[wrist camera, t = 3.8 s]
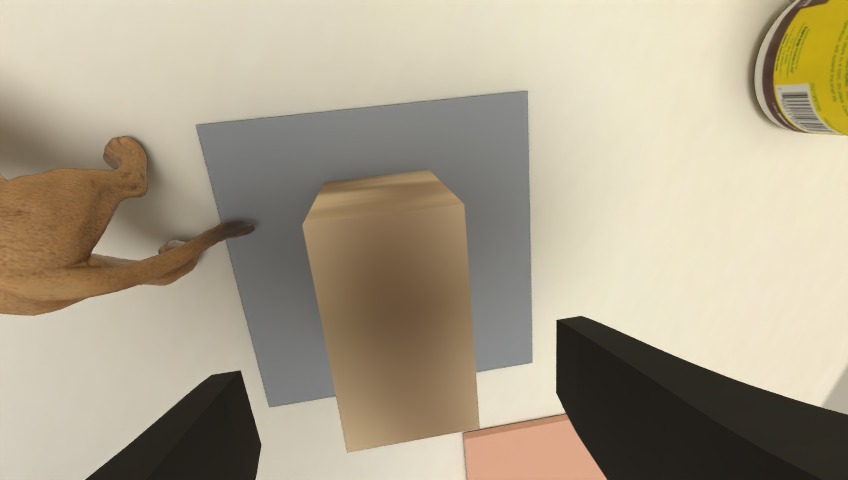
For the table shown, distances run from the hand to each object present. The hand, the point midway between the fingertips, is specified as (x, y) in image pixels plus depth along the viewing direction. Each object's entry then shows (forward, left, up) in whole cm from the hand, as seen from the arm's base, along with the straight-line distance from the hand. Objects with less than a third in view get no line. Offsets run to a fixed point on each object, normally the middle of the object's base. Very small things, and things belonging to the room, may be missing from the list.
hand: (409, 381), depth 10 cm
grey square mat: (0, 0, -8) cm, 8 cm away
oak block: (0, 0, -8) cm, 8 cm away
